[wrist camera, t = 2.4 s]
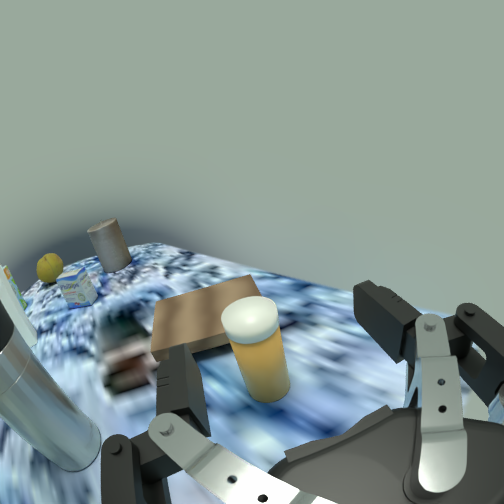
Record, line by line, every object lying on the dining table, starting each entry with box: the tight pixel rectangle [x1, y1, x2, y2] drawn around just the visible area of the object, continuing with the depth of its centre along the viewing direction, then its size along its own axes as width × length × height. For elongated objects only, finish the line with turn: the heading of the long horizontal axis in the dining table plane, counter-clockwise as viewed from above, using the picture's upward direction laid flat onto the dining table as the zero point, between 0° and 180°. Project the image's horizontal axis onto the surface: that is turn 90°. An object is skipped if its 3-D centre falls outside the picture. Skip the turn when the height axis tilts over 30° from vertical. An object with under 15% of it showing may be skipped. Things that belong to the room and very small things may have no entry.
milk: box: [0, 264, 38, 348], centre depth 40 cm, size 6×6×22 cm
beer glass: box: [221, 296, 290, 403], centre depth 27 cm, size 5×5×12 cm
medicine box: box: [56, 267, 98, 309], centre depth 56 cm, size 8×4×9 cm, turn 93°
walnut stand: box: [151, 274, 262, 362], centre depth 40 cm, size 17×13×4 cm
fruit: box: [37, 254, 63, 283], centre depth 74 cm, size 11×12×10 cm
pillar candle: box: [88, 218, 132, 273], centre depth 73 cm, size 10×10×15 cm
